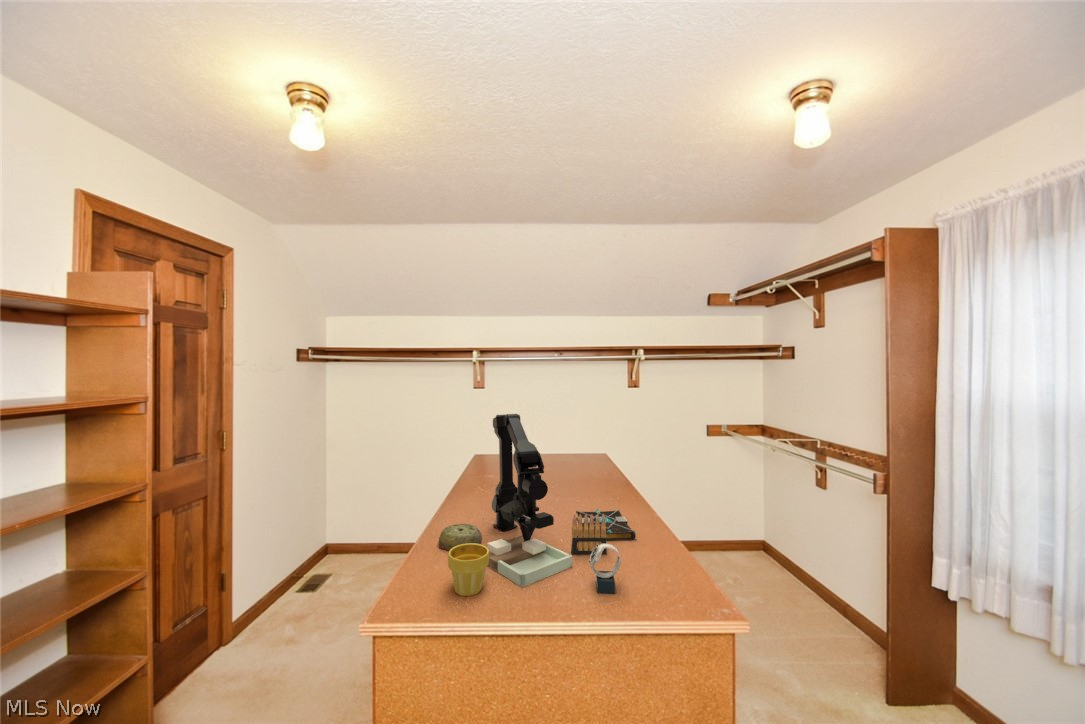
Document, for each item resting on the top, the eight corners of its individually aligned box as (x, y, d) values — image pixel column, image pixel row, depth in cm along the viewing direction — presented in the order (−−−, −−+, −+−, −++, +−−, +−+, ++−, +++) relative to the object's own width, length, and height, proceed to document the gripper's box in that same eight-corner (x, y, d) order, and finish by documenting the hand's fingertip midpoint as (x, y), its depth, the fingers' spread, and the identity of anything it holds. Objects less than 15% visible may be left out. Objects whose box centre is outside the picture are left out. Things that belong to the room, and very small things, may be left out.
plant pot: (495, 593, 109) (495, 554, 109) (455, 604, 104) (455, 563, 104) (480, 576, 118) (480, 540, 118) (442, 585, 113) (442, 547, 113)
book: (635, 542, 142) (635, 526, 142) (584, 543, 141) (584, 527, 141) (619, 518, 164) (619, 505, 164) (575, 519, 163) (575, 506, 163)
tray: (497, 571, 120) (497, 561, 120) (546, 553, 132) (546, 543, 132) (522, 587, 112) (522, 575, 112) (572, 566, 124) (572, 556, 124)
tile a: (522, 549, 129) (522, 542, 129) (534, 544, 133) (534, 538, 133) (533, 554, 126) (533, 547, 126) (546, 549, 129) (546, 543, 129)
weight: (489, 539, 143) (489, 524, 143) (465, 556, 131) (465, 539, 131) (455, 533, 149) (455, 518, 149) (429, 548, 137) (429, 532, 137)
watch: (588, 582, 115) (588, 540, 115) (619, 583, 114) (619, 541, 114) (589, 593, 109) (589, 549, 109) (621, 594, 109) (622, 550, 109)
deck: (476, 558, 129) (476, 550, 129) (524, 542, 140) (524, 534, 141) (497, 571, 120) (497, 562, 120) (546, 553, 132) (546, 545, 132)
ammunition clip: (571, 554, 132) (571, 515, 132) (571, 552, 133) (571, 512, 133) (607, 554, 132) (607, 515, 132) (606, 552, 133) (606, 512, 134)
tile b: (487, 549, 129) (487, 543, 129) (501, 545, 132) (501, 538, 132) (497, 555, 125) (497, 548, 125) (511, 550, 128) (511, 543, 128)
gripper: (487, 488, 134) (487, 539, 133) (524, 503, 119) (524, 560, 119) (516, 482, 141) (516, 531, 141) (555, 495, 126) (554, 549, 126)
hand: (526, 542), depth 131 cm, fingers closed
